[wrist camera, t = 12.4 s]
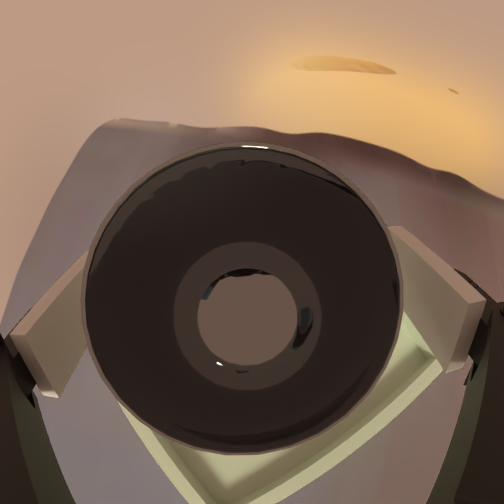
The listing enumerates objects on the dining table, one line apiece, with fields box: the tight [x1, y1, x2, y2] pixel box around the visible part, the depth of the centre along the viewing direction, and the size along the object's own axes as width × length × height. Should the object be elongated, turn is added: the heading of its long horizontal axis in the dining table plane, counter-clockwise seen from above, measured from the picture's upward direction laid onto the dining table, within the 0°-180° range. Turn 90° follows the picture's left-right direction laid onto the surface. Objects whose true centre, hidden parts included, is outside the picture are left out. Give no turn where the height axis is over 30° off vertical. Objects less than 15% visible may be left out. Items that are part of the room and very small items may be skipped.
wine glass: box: [80, 142, 404, 455], centre depth 14 cm, size 8×8×15 cm
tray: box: [116, 311, 443, 504], centre depth 21 cm, size 20×20×2 cm
